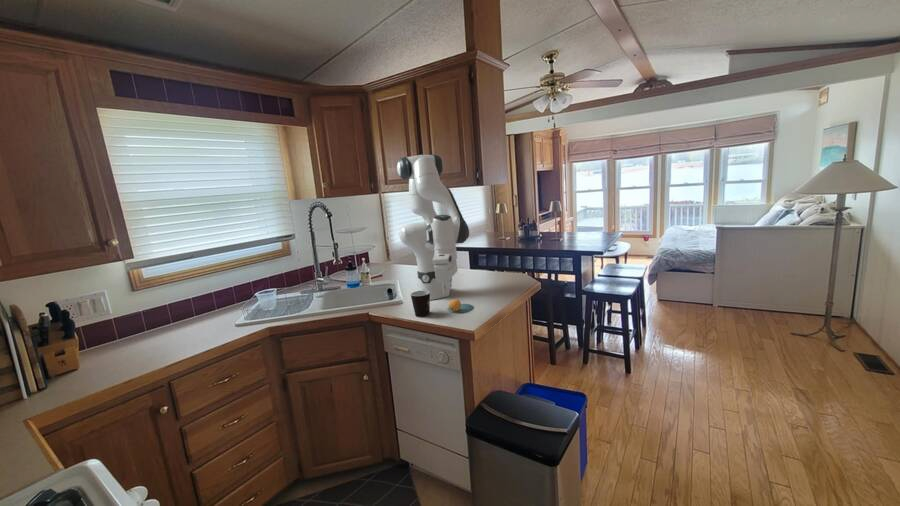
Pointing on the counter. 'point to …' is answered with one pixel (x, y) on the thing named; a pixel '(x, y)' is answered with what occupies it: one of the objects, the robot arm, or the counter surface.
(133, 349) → the counter surface
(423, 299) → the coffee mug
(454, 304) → the ball
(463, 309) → the disc
